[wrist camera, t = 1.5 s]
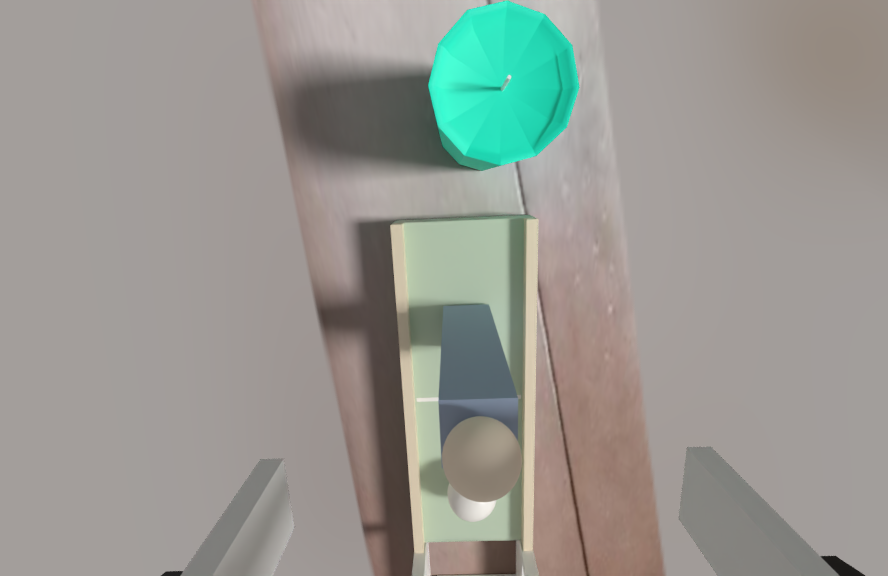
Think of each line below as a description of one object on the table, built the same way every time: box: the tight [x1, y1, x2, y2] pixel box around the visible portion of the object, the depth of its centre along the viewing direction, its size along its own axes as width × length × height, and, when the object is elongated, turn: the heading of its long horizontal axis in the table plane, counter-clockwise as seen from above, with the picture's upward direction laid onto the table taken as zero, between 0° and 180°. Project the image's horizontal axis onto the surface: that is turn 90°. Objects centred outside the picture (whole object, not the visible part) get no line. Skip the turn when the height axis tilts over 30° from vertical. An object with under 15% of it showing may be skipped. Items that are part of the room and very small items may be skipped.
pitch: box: [390, 215, 538, 554], centre depth 30 cm, size 25×9×3 cm, turn 2°
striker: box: [438, 304, 522, 502], centre depth 20 cm, size 3×3×15 cm
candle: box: [428, 1, 579, 171], centre depth 21 cm, size 6×6×12 cm
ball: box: [447, 483, 497, 522], centre depth 29 cm, size 4×4×4 cm
